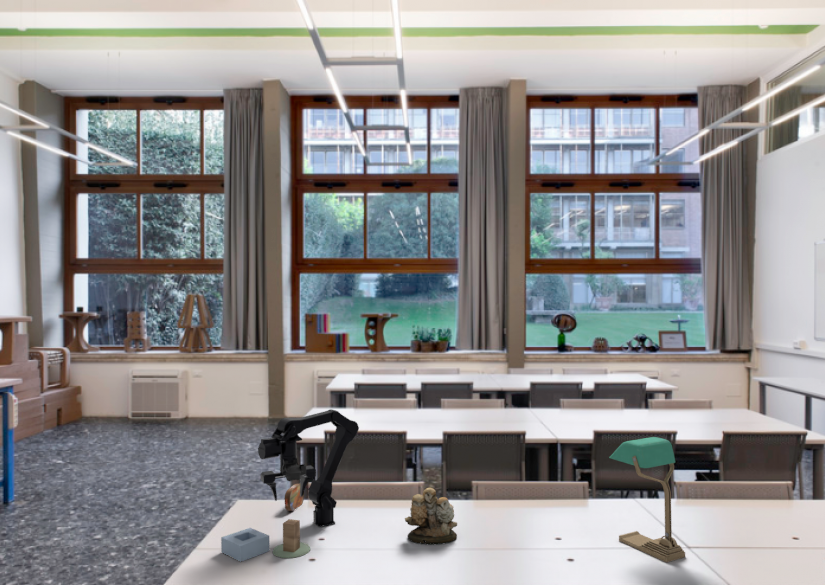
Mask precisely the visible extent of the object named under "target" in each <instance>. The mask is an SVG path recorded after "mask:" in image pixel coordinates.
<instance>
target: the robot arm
mask: <svg viewBox="0 0 825 585" xmlns="http://www.w3.org/2000/svg"><path fill="white" fill-rule="evenodd" d="M328 423H331V424H332V425H333V426H334V427H335V432H334V433H335V436H334V437H335V438H334V443H333V445H332V447H331V450H330V452H329V454H328V457H327V460H326V462H325V463H324V464H325V465H324V467H323V469H322V471H321V474H320V476H319V477H318V478H317V479H314V478H313V477H317V470H316V469H315V467H314V466H312V465H311V464H309V465H306V463H301V464H299V461H298V458H297V451H298V450H297V442H299V441H302V440H303V438H302V437H300V436H299V434H301V433H302V432H304V430H307V429H310V428H313V427H316V426H317V427H318V426H321V425H324V424H328ZM359 428H360V427H359V424H358V423H357V422H356V421H355V420H352V419H349V418H348V417H346V416H345V415H343V414H342V413H340V412H339V411H338V410H335V409H331V408H330V409H328V410H325V411H321V412H317V413H314V414H311V415H310V414H309V415H306V416H301V417H283V418H281V419H279V421H278V423H277V426H276V428H275V430H274V431H273V433H272V435H271V437H269V438H261V439H260V442H259V444H258V448H257V452H258V454H257V455H258V456H259V458H260V459H261V460H266V459H267V460H268V459H272V458H278V457H279V461H280V462H279V463H280V465H279V466H280V467H279V472H274V471H273V470H266V471H261V473H260V481H261V482H262V483H263V484H266V486H269V488H270V490H271V494H272V496H273V498H274V501H275V502H277V500H278V496H277V494H278V493H277V482H276V479H283V478H286V481H287V482H293V481H300V482H299V484H300V496H301V497H302V496H303V493H304V494H305V490H306V488H307V484H308V482H310V480H311V483H310V486H309V487H308V488H307V490H308V493H307V495H308V499H309V500H310V501H311V502H312V505H314V510H313V514H312V515H313V520H312V521H313V522H314V524H315V525H316V526H317V527H319V528H321V527H324V526H326V527H327V526H330V525H335V524H336V521H335V520H334V518H335V516H334V511H335V510H334V508H336V507H337V500H336V499H334V498H333V497H332V493H333V481H334V478H335V475H336V474H337V471H338V470H339V469H338V468H339V466H340V464H341V461H342V458H343V457H344V453H345V452H346V449H347V447H348V445H349V444H350V443H351V442H352V441H353V440H354V439H355V438H356V436H357V434H358V433H359Z"/></svg>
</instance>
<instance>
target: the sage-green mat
mask: <svg viewBox="0 0 825 585" xmlns="http://www.w3.org/2000/svg"><path fill="white" fill-rule="evenodd" d="M310 551H311V545H309V544H308V543H305V542H301V541H300V548H299V549H298V550H296V551H295V552H287V551H283V543H280V544H279V545H277V546H275V547H274V548H273V549H272V553H273V556H276V557H278V558H281V559H294V558H300V557H302V556H305V555H306V554H308V553H310Z"/></svg>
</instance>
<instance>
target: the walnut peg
mask: <svg viewBox="0 0 825 585" xmlns="http://www.w3.org/2000/svg"><path fill="white" fill-rule="evenodd" d="M300 522H301V521H300V519H291V518H289V519H287V520H285V521H284V522H283V523H282V544H283V551H287V552H295V551H296V550H298V549H299V548H300V542H301V523H300Z"/></svg>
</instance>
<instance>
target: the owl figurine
mask: <svg viewBox="0 0 825 585" xmlns="http://www.w3.org/2000/svg"><path fill="white" fill-rule="evenodd" d="M436 491H437V490H435V489H434V488H433V487H426V488H425V489H424V490H423V492H422V494H420V493H417V494H415V495H413V496H412V498H411V507H410V516H409V515H408V516H407V517H405V518H404V520H405V523H407V525H409V526H410V527H411V526H412V527H415V528H413V529H412V530H411V531H410V532H408V533H407V538H408V540H409V541H410V542H412V543H414V544H418V545H419V544H421V545H423V544H425V545H427V544H428V545H429V546H433V545H434V544H436V545H443V543H445V544H448V543H452V542H453V541H456V540H457V538H458V534H457V533H456V532H455V531H454V530H453V529H454V528H456V527H457V526H458V522H457V521H453V520H454V518H455V514H454V513H455V510H454V505H452V504H451V503H450V502H449V499H448V498H447V497H445V496H443V497H439V498H438V497H437V493H436Z"/></svg>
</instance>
